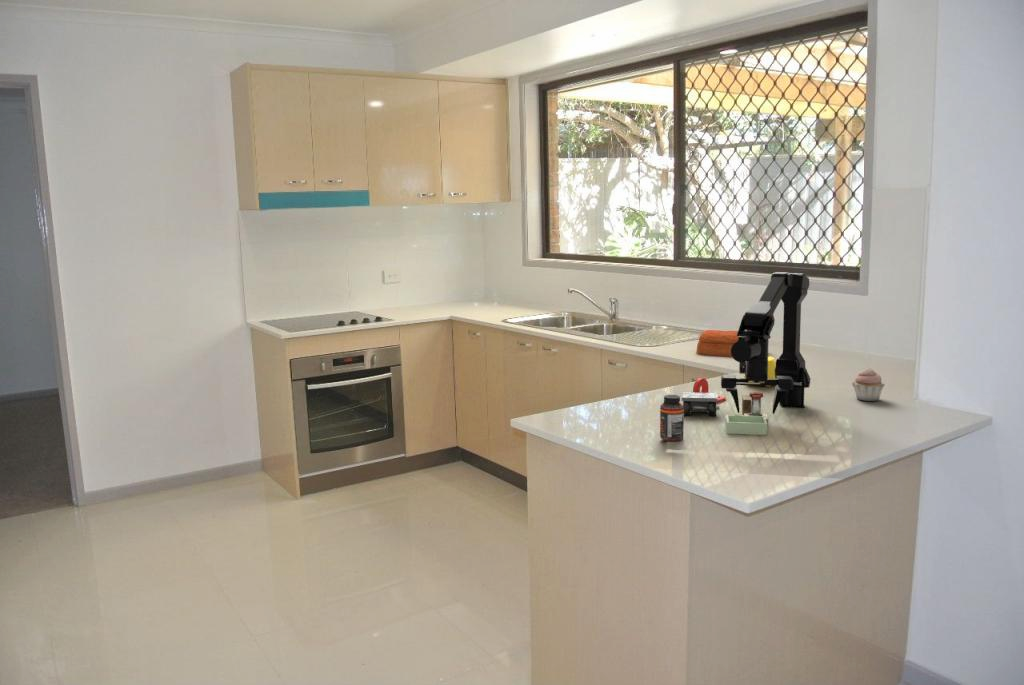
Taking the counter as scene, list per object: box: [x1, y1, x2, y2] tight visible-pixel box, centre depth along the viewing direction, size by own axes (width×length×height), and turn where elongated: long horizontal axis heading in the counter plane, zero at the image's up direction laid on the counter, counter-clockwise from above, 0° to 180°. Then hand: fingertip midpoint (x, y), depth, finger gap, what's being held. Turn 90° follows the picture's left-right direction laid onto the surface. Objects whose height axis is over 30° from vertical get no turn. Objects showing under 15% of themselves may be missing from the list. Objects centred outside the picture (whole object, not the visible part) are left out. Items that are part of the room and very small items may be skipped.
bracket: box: [692, 377, 727, 404], centre depth 247 cm, size 12×4×8 cm, turn 135°
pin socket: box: [744, 412, 769, 427], centre depth 222 cm, size 6×6×2 cm
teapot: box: [743, 356, 776, 388], centre depth 269 cm, size 18×11×11 cm, turn 158°
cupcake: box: [851, 366, 886, 402], centre depth 246 cm, size 9×9×10 cm
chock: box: [741, 394, 751, 415], centre depth 232 cm, size 4×6×5 cm, turn 167°
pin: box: [748, 391, 764, 416], centre depth 222 cm, size 4×4×8 cm
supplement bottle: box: [659, 394, 685, 442], centre depth 208 cm, size 6×6×11 cm
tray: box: [725, 414, 768, 436], centre depth 215 cm, size 10×8×3 cm
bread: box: [695, 329, 738, 358], centre depth 323 cm, size 16×27×11 cm, turn 65°
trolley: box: [681, 391, 720, 417], centre depth 233 cm, size 11×8×5 cm
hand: (755, 412), depth 222 cm, fingers open, 9 cm apart
